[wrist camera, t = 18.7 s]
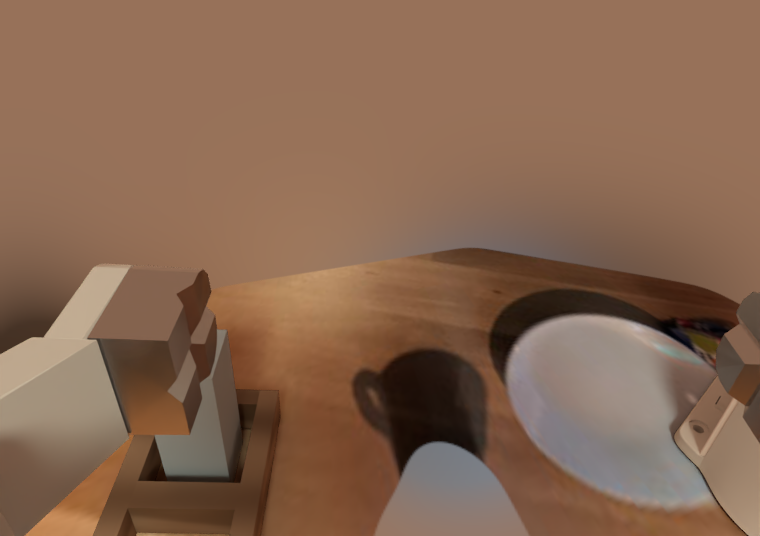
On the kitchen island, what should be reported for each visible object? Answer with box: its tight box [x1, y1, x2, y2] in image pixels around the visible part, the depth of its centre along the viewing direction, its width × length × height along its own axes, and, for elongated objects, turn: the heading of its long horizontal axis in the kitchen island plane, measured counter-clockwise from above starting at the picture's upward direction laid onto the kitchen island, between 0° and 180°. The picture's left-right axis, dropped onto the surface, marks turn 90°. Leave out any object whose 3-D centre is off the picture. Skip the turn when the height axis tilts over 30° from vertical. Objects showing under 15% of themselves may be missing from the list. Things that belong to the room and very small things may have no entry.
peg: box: [155, 330, 243, 483], centre depth 40 cm, size 4×4×12 cm
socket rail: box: [93, 389, 280, 536], centre depth 39 cm, size 19×10×3 cm, turn 1°
